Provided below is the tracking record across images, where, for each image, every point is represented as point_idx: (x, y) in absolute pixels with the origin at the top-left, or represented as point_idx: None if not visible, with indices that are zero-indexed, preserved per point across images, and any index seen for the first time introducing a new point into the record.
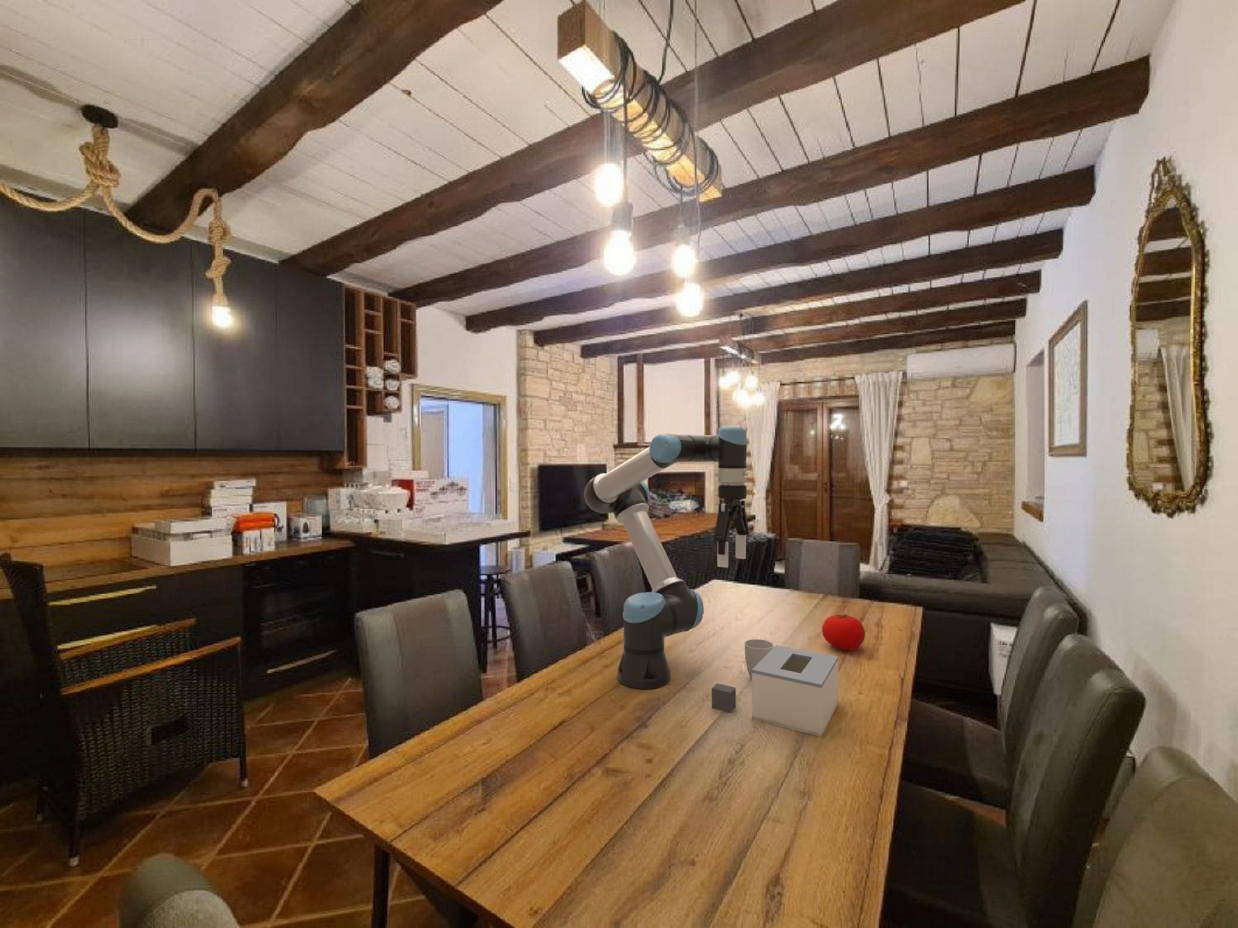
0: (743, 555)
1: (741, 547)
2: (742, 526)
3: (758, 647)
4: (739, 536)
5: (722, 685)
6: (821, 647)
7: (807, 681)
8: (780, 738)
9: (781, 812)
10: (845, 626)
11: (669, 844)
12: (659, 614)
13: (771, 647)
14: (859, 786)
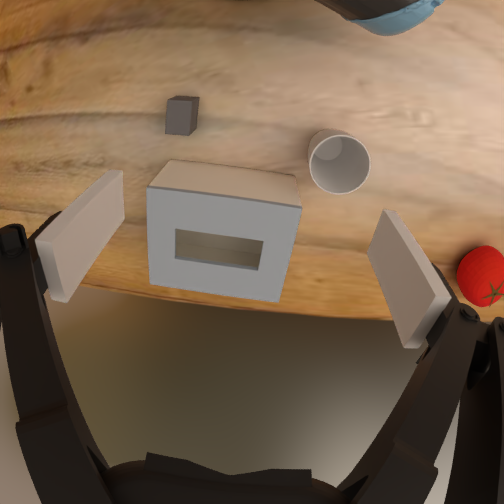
0: (373, 257)
1: (391, 274)
2: (397, 404)
3: (363, 156)
4: (418, 313)
5: (187, 112)
6: (474, 234)
7: (149, 268)
8: (140, 201)
9: (36, 221)
10: (471, 290)
11: None
12: None
13: (327, 191)
14: (102, 273)
